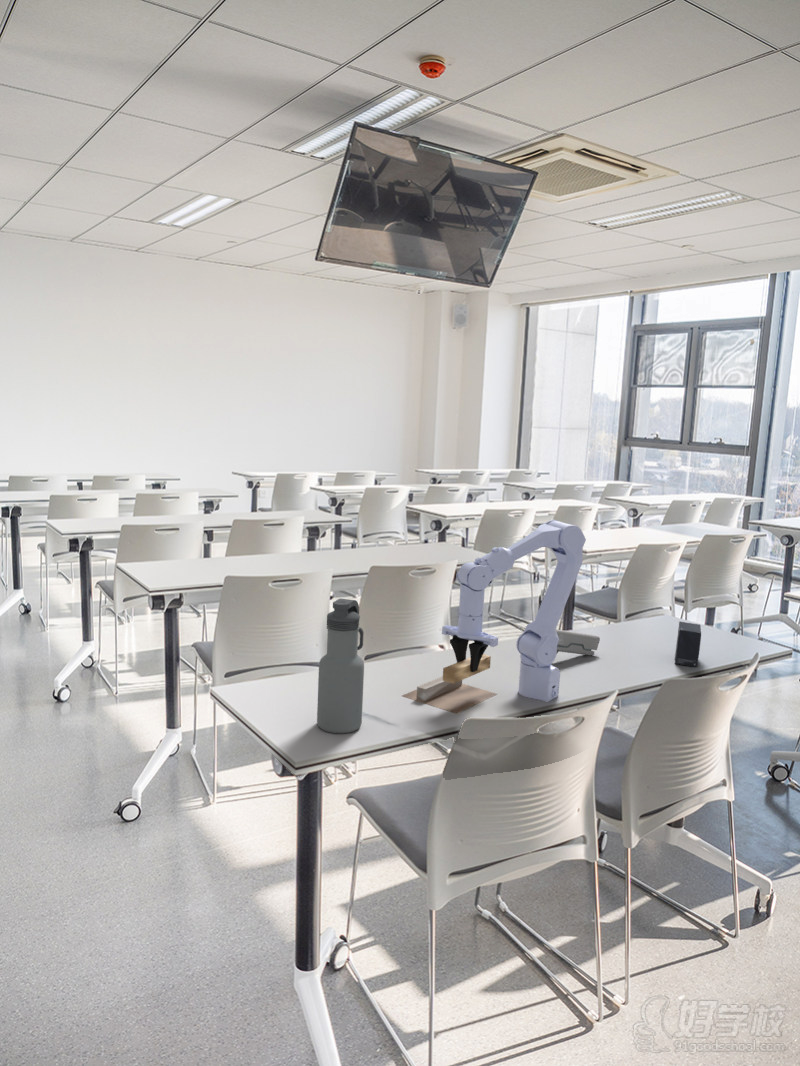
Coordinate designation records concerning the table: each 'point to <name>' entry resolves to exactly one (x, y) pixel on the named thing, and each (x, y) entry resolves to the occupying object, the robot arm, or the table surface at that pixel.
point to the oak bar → (464, 669)
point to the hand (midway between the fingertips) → (467, 669)
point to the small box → (688, 644)
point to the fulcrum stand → (449, 695)
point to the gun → (577, 642)
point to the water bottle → (341, 671)
